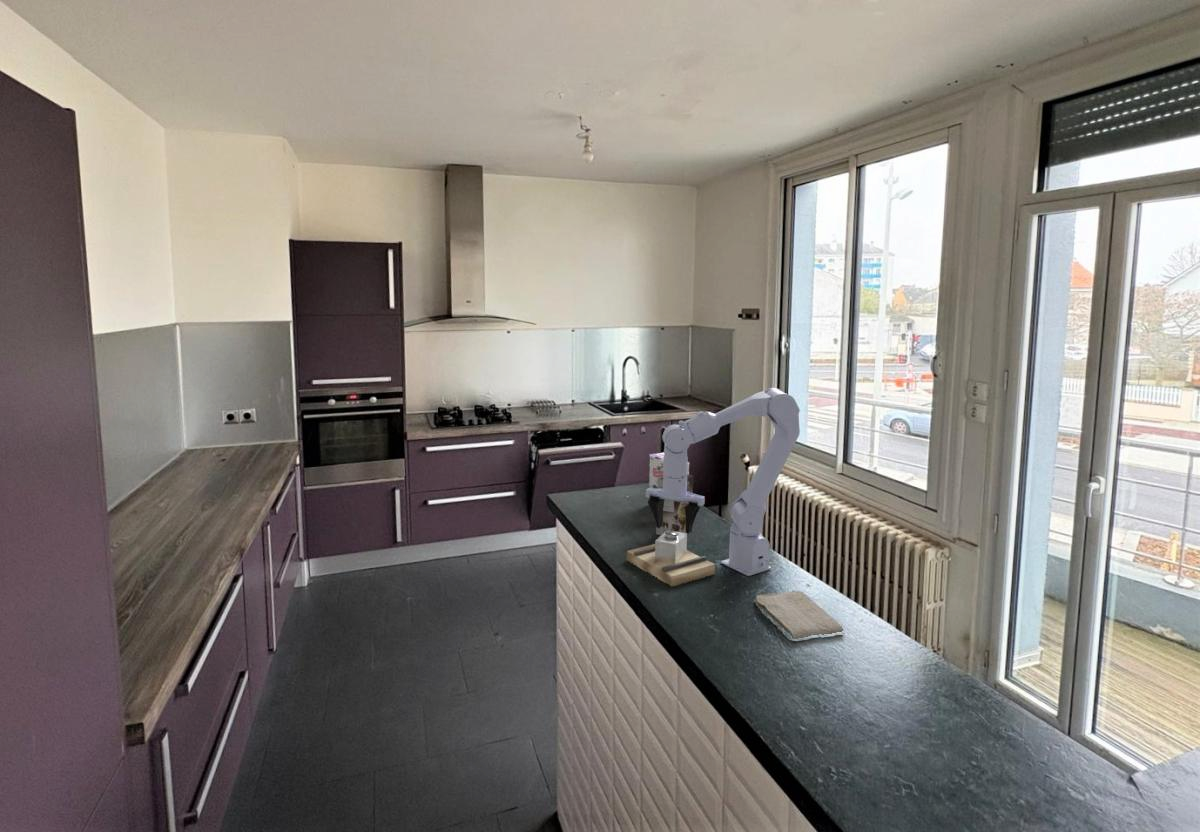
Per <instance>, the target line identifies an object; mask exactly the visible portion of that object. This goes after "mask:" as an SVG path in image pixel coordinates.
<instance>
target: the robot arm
mask: <svg viewBox="0 0 1200 832" xmlns="http://www.w3.org/2000/svg"><path fill="white" fill-rule="evenodd" d="M800 411H801V409H800V407H799V405H798V403H797V401H796V399H795V398H794V396H793V395H790V394H787V393H785V392H784V391H782V390H781V389H779V388H777V387H770V388H768V389H766V390H765V391H759V392H756V393H755V394H752V395H750V396H749V397H747V398H744V399H743V400H740V401H739V402H736V403H734V404H732V405H729V406H728V407H726V408H724V409H722V410H719V411H717V412H715V413H713V412H710V411H705V412H704V411H703V410H700V411H699V412H697V415H695V416H694V417H692V418H689V419H686V420H684V421H683V420H679V421H678V423H679V424H670V425H669V426H666V428H665V429H664V430H663V434H661V440H662V441H663V443H664V444H665V445H664V449H663V452H664V461H663V489H657V488H649V487H648V488H646V489H645V498H647V499H648V501H647V504H648V507H650V510H651V512H652V514H653V517H654V521H655V524H656V525H655V526H657V528H660V527H661V526H663V507H664V501H665V499H666V500H672V501H678V502H684V503H689V504H688V505H686V506H685V514H686V533H687V534H690V533H691V532H692V531H693V528H694V527H693V526H694V523H695V519H696V516H697V515H698V513H699V511H700V509H701V507H703V506H704V505H705V503H706V502H705V501H706V498H705V496H704V495H700V494H696V493H693V492H692V493H690V492H687V463H688V462H689V460H688V458H689V457H688V449H689V448H690V446H691V445H695V444H696V443H699V442H701V441H703V440H705V439H708V438H710V437H712V436H715V435H717V434H718V433H719V431H720V428H722V427H723V426H726V425H728V424H731V423H734V422H736V421H738V420H741V419H743V418H744V419H745V418H746V417H749V416H753V415H754V416H760V417H764V418H765V417H766V418H767V417H769V419H770V421H771V424H772V425H773V428H774V431H775V433H774V434H773V436H772V438H771V440H770V442H769V444H768V446H767V448H766V450H765V452H764V454H763V456H762V458H761V460H760V462H759V464H758V466H757V469H756V470H755V472H754V474H753V476H752V478H751V480H750V482H749V484H748V486H747V488H746V489H745V490H744V491H742V492H741V493H740V495H739V497H738V498H737V499H736V500H735V501H733V502H732V503H731V505H730V506H729V510H728V511H729V517H730V518H731V520H732V521H733V522H732V524H731V526H730V528H729V529H730V530H729V552H728V553H729V554H728V558H727V559H723V560H721V561H720V563H721V564H722V565H724V566H727V567H728V568H731V569H732V570H735V571H737V572H739V573H741V574H743V575H744V576H748V577H749V576H752V575H756V574H759V573H763V572H766V571H769V570H772V567H771V566H770V555H771V554H770V552H771V551H770V550H771V545H770V542H769V540H768V539H767V538H766V537H764V536H763V534H762V532H761V531H762V529H763V526H764V516H765V514H766V512H767V500H768V498H769V495H770V494H771V492H772V490H773V488H774V486H775V484H776V482H777V480H778V478H779V476H780V475H781V472H782V470H783V468H784V466H785V464H786V462H787V461H788V458H789V456H790V454H791V452H792V451H793V448H794V446H795V445H796V442H797V440H798V438H799V436H800V432H801V430H800V419H799V418H800V417H799V414H800ZM649 498H650V500H649Z"/></svg>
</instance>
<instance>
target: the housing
mask: <svg viewBox="0 0 1200 832" xmlns="http://www.w3.org/2000/svg"><path fill="white" fill-rule="evenodd" d="M687 541H688V533H681V532H676V531H669V530H667V531H666V532H665V533H663V534H662V535H659V536H658V538H657V539H655V542H654V544H655V560H656V561H661V562H666V563H671V564H676V563H677V562H678V561H679V560H680V559H681V558H682V557H683V556H684V555H685V554H686V552H687V551H688V549H687V546H688V543H687Z"/></svg>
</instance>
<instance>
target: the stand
mask: <svg viewBox="0 0 1200 832" xmlns="http://www.w3.org/2000/svg"><path fill="white" fill-rule="evenodd" d="M626 561H627V562H628V561H629V562H628V563H631V564H632V563H633V564H632V565H634V566H635V565H636V567H637V568H638V569H641V570H642V571H644V572H645V573H647V572H648V573H647V574H649V573H650V574H649V575H651V576H653V577H654V576H655V578H656V577H657V579H658V580H659V581H660V582H661V581H662V582H663V583H665V584H666V583H667V585H668V584H669V586H670V587H672V586H673V587H676V586H679V585H682V583H683V584H686V583H689V581H690V582H693V581H696V580H700V579H703V578H706V576H707V577H710V576H713V575H716V573H715V572H716V564H715V563H713V562H712V561H709V559H707V556H705V555H703V556H699V555H698V554H695V553H693V552H692V551H689V550H687V552H686V554H685V555H684V556H683V557H682V558H681V559H680V560H679V561H678V562H677V563H676V564H671V563H666V562H661V561H656V560H655V543H652V544H650V545H646V546H641V547H638V548H633V549H629V550H626ZM692 580H693V581H692Z"/></svg>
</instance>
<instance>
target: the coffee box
mask: <svg viewBox="0 0 1200 832" xmlns="http://www.w3.org/2000/svg"><path fill="white" fill-rule="evenodd" d="M693 487H694V475H692V474H689V475H688V474H687V492H690V493H693ZM658 489H663V477H661V478H658ZM688 504H689V503H684V502H678V501H672V500H666V499H665V501H664V507H663V526H661V527H660V528H657V526H656V525H655V526H656V527H655V530H656V531H655V532H656V535H658V536H661V535H662V534H663V533H665V532H666V531H667V530H669V531H676V532H681V533H686V514H685V506H686V505H688Z"/></svg>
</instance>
